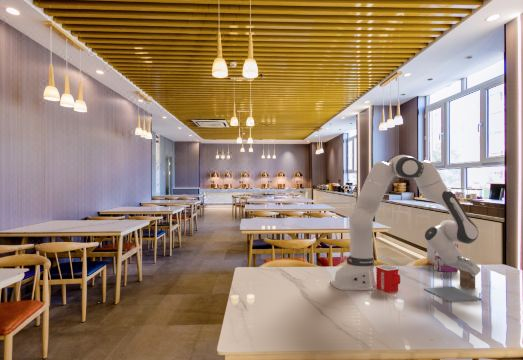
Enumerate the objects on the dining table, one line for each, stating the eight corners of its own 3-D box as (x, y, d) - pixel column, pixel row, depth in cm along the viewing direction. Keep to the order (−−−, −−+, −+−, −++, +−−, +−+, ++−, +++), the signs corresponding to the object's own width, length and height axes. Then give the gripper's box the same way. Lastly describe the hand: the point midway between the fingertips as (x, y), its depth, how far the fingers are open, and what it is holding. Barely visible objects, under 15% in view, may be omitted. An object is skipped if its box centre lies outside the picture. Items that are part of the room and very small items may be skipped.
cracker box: (448, 268, 186) (448, 233, 186) (438, 268, 186) (438, 233, 186) (436, 262, 200) (436, 230, 200) (426, 262, 200) (426, 230, 200)
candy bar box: (438, 272, 178) (437, 243, 179) (434, 269, 183) (433, 241, 184) (458, 272, 177) (458, 243, 178) (454, 270, 182) (453, 242, 183)
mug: (374, 287, 152) (374, 266, 152) (387, 285, 155) (387, 264, 155) (392, 296, 141) (392, 272, 141) (406, 293, 144) (406, 270, 144)
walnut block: (468, 288, 150) (467, 270, 150) (459, 285, 155) (459, 267, 155) (475, 288, 151) (475, 269, 151) (467, 284, 156) (467, 266, 156)
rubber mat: (448, 301, 134) (448, 300, 134) (423, 289, 149) (423, 288, 149) (481, 299, 136) (481, 298, 136) (453, 287, 152) (453, 286, 152)
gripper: (472, 254, 142) (491, 275, 143) (439, 245, 162) (456, 263, 164) (463, 265, 141) (482, 285, 143) (432, 254, 161) (449, 272, 163)
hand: (468, 273), depth 153 cm, fingers closed on walnut block, 5 cm apart
